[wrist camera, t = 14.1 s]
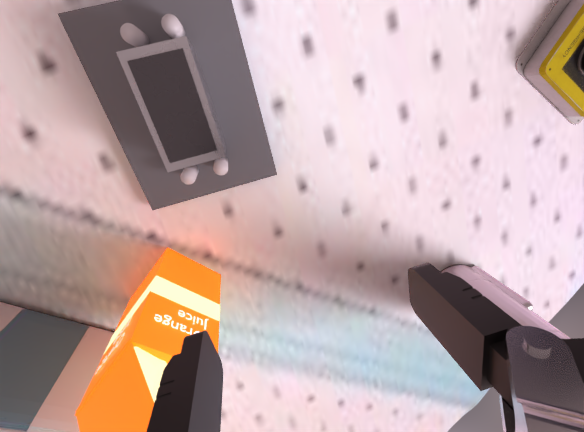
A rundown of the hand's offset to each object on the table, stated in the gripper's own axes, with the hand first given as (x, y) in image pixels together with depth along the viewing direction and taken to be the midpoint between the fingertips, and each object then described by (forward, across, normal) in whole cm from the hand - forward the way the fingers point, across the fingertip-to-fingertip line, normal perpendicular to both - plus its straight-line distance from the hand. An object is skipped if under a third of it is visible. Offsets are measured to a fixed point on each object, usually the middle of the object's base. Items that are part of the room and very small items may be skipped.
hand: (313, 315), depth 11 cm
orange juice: (+24, +14, +11) cm, 31 cm away
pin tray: (+24, +6, -9) cm, 26 cm away
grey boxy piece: (+22, +6, -9) cm, 25 cm away
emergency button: (+26, -41, -3) cm, 49 cm away
